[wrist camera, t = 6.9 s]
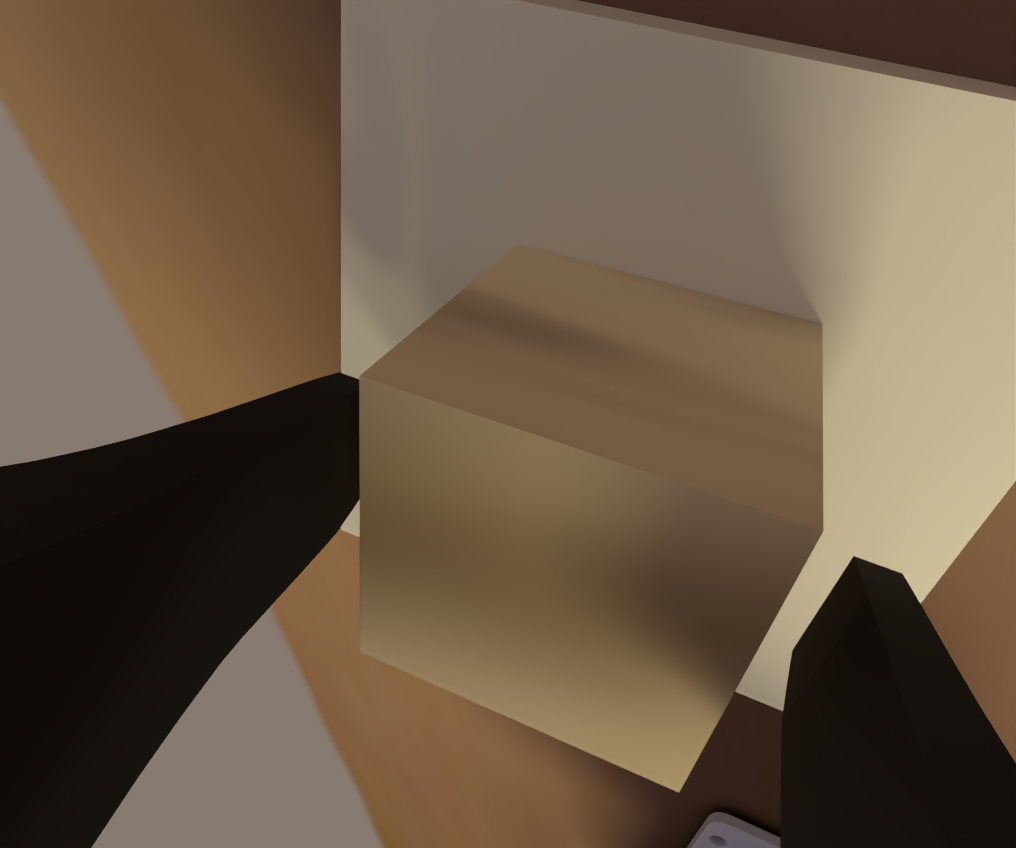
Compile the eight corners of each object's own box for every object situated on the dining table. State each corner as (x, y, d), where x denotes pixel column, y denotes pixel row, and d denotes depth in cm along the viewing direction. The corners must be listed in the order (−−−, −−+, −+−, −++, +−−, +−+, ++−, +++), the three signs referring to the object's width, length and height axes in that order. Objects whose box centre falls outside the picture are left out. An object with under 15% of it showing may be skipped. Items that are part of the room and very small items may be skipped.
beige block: (823, 625, 17) (823, 728, 15) (398, 464, 20) (341, 529, 17) (1162, 113, 10) (1269, 151, 8) (430, -32, 13) (340, -36, 10)
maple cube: (721, 553, 13) (679, 792, 9) (485, 470, 14) (359, 651, 10) (822, 324, 10) (823, 531, 6) (518, 243, 11) (359, 376, 7)
